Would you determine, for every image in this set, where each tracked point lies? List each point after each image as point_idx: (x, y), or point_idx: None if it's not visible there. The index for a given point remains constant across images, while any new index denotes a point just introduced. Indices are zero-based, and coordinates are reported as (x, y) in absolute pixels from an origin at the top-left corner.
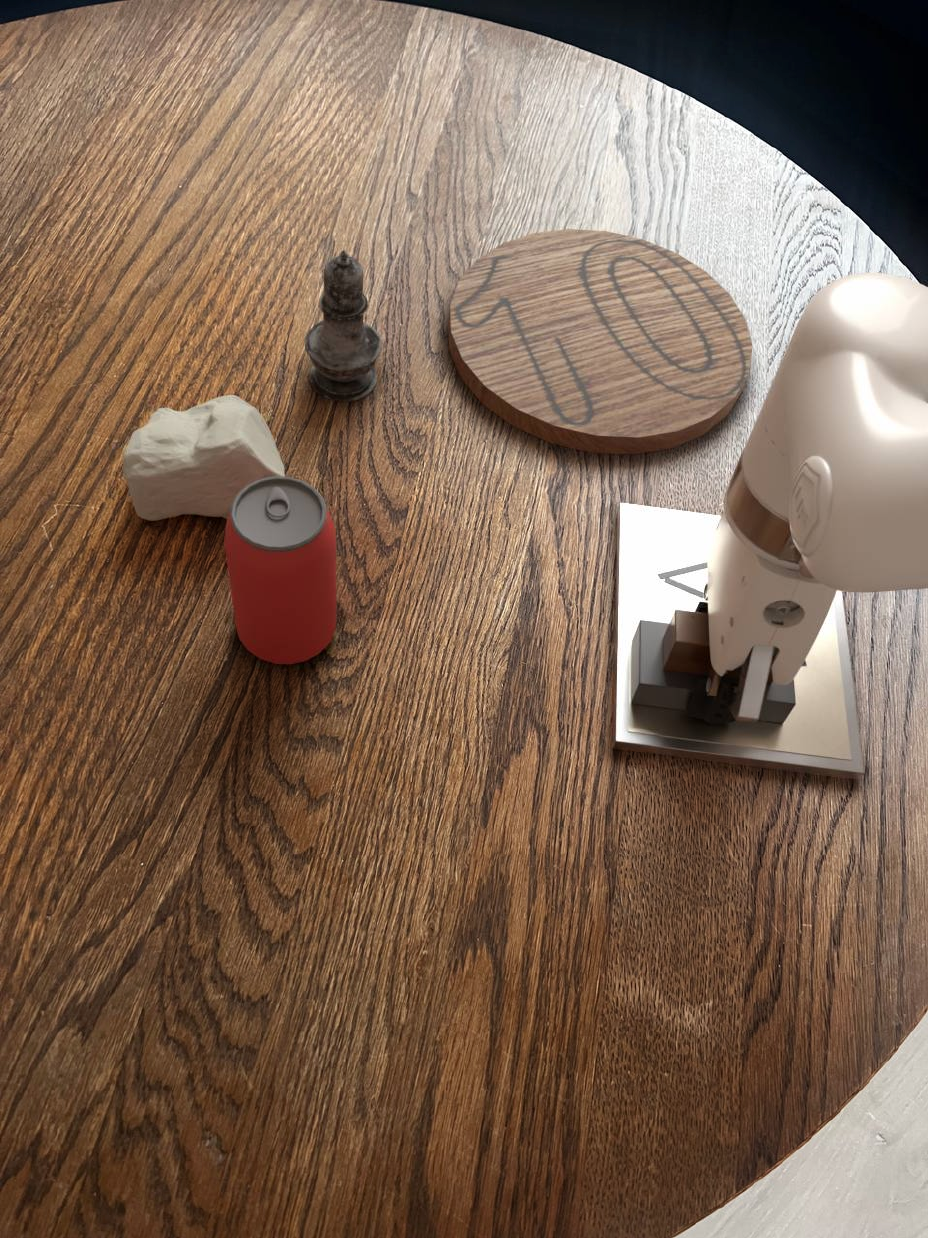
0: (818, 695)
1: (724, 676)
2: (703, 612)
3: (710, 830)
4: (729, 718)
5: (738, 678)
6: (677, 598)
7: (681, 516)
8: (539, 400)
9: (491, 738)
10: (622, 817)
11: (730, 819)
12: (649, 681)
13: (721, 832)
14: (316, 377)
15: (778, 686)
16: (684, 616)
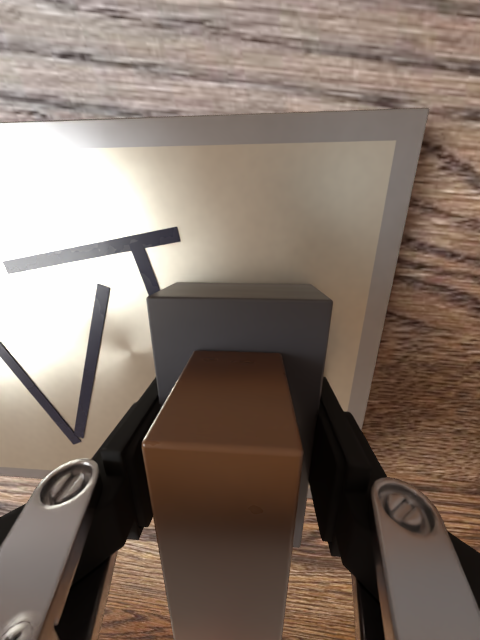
0: (241, 206)
1: (356, 564)
2: (147, 523)
3: (469, 387)
4: (355, 421)
5: (368, 545)
6: (105, 423)
7: None
8: None
9: (328, 568)
10: (433, 476)
11: (456, 360)
12: (295, 538)
13: (475, 373)
14: None
15: (285, 337)
16: None
